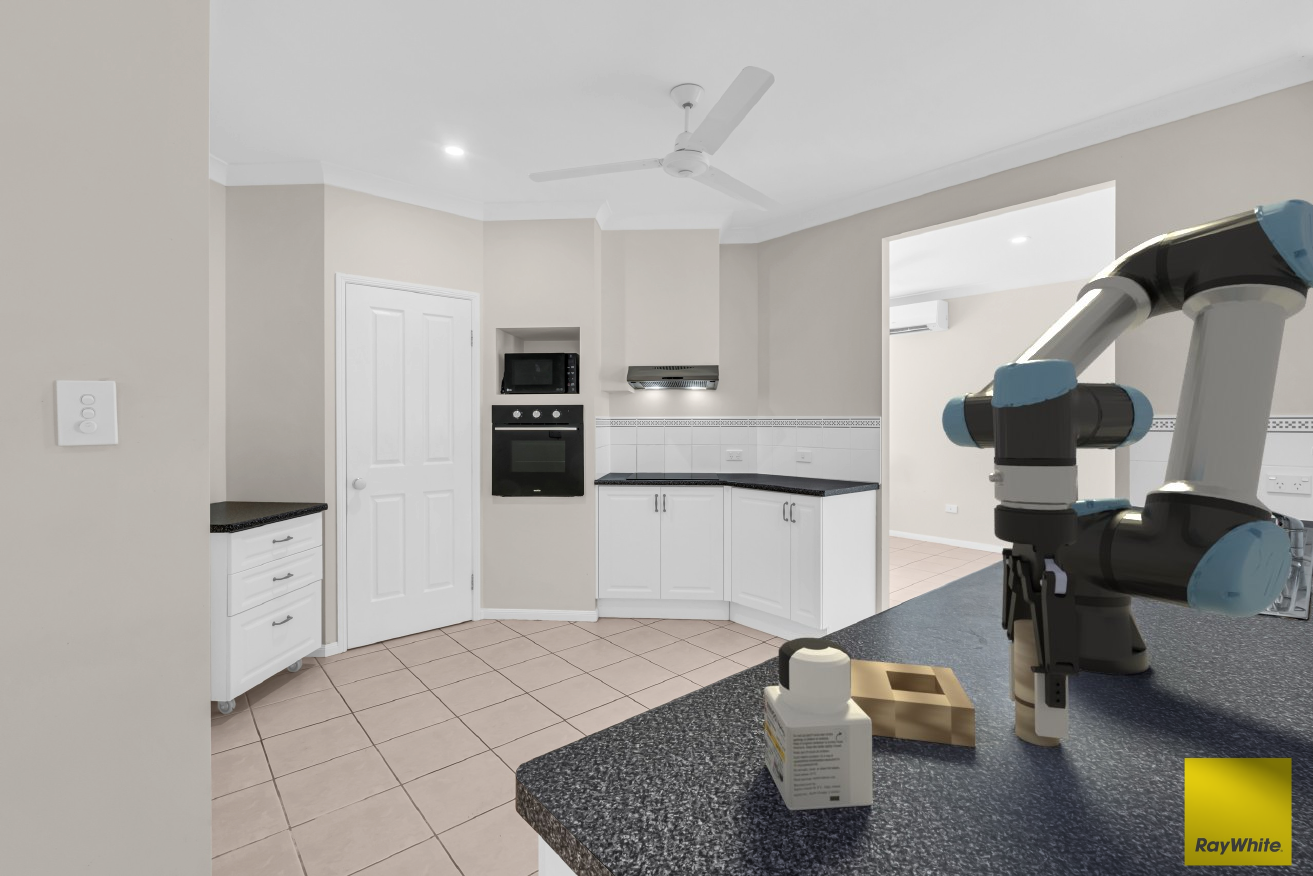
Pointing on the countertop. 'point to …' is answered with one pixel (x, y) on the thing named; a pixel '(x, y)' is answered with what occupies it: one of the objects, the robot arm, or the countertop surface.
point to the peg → (1026, 684)
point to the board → (913, 702)
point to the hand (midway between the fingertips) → (1037, 717)
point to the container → (817, 729)
